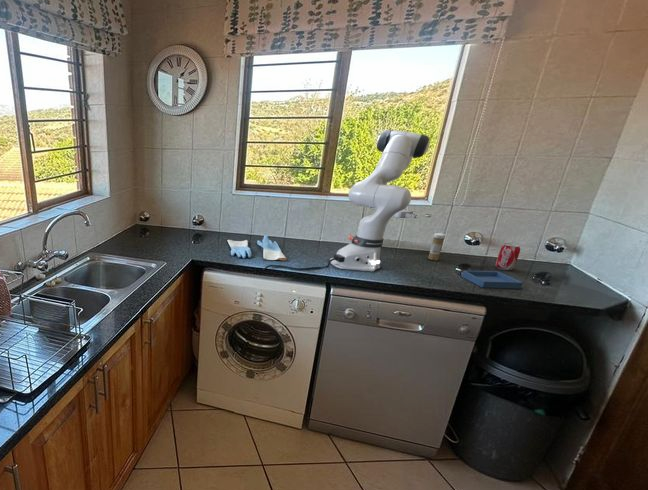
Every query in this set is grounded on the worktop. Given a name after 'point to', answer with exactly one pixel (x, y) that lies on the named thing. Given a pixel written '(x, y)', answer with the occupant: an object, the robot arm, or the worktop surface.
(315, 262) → the worktop surface
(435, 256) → the sprinkles bottle
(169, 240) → the worktop surface
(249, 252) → the rubber gloves
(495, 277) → the blue tray
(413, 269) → the worktop surface
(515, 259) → the soda can
